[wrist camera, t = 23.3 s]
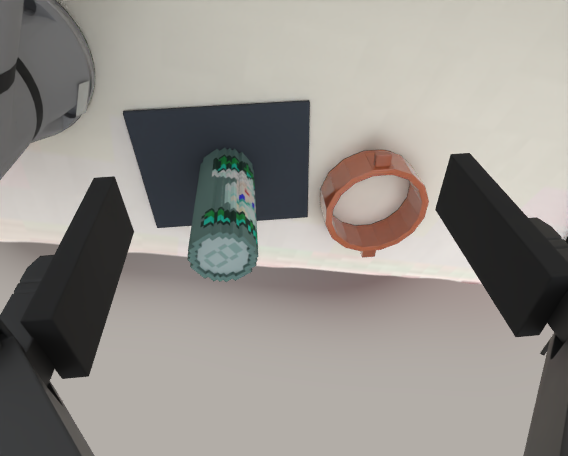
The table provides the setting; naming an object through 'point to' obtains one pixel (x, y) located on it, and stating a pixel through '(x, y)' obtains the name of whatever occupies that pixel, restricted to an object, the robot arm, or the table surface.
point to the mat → (217, 135)
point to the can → (224, 217)
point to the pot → (384, 230)
